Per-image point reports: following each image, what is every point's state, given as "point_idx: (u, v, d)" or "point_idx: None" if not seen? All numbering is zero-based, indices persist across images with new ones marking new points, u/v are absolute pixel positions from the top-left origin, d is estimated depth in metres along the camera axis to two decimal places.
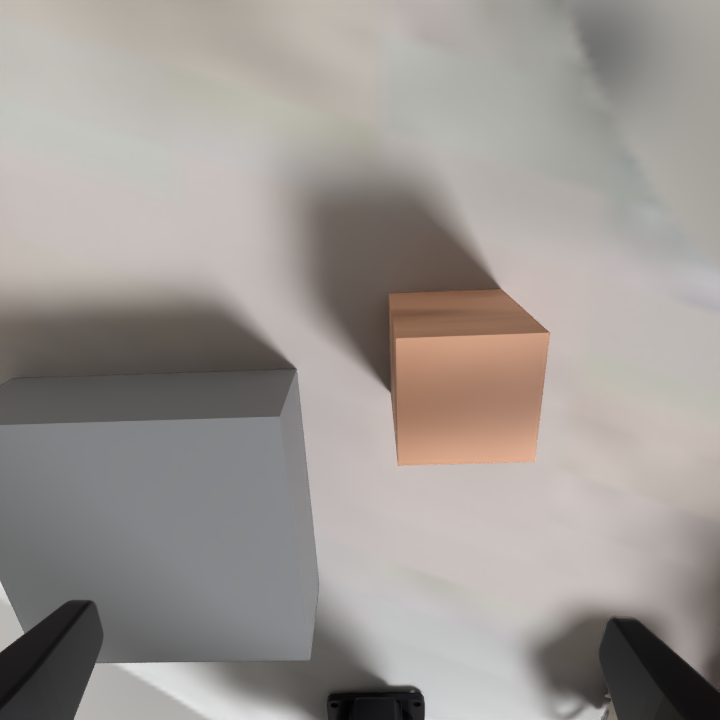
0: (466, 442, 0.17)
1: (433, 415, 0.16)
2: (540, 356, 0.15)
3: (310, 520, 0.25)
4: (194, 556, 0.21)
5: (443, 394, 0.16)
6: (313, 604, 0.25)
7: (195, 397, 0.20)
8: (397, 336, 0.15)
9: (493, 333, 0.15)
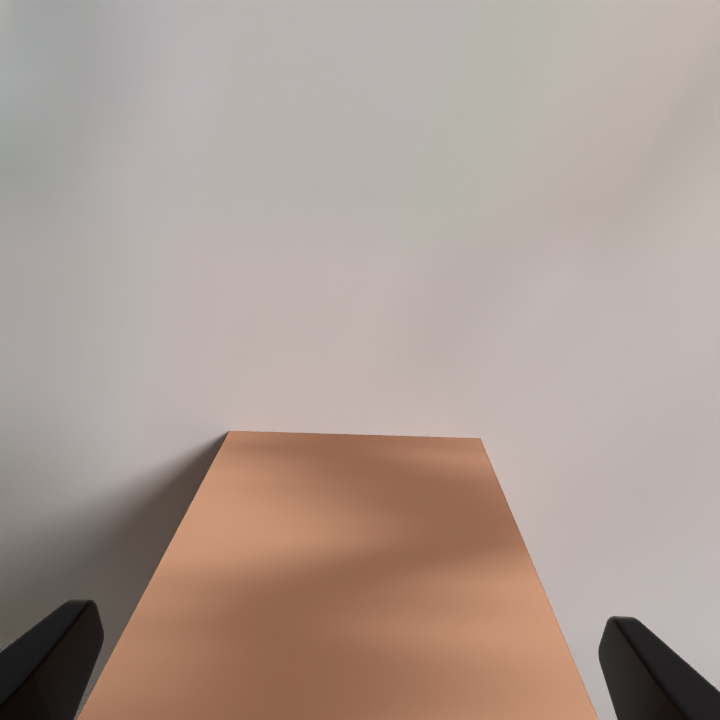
0: None
1: None
2: None
3: None
4: None
5: None
6: None
7: None
8: None
9: None
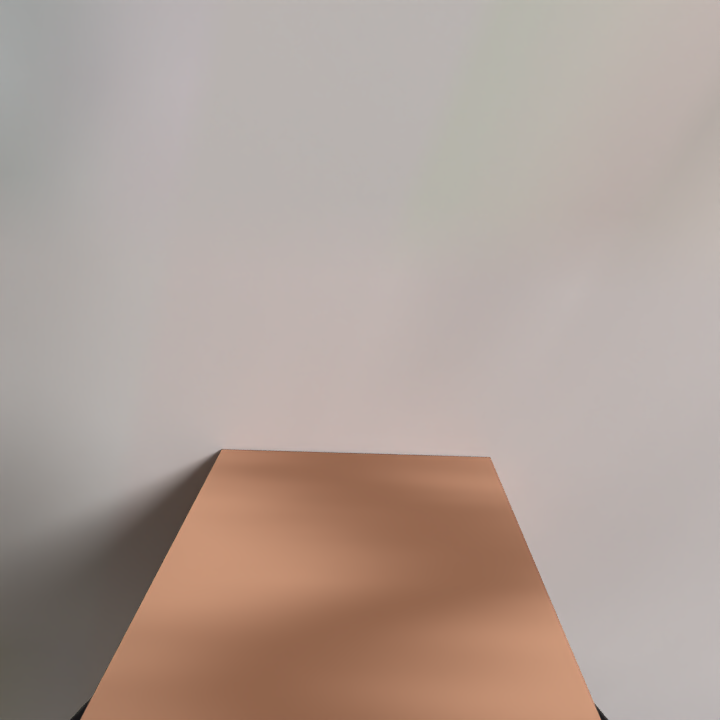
0: None
1: None
2: None
3: None
4: None
5: None
6: None
7: None
8: None
9: None
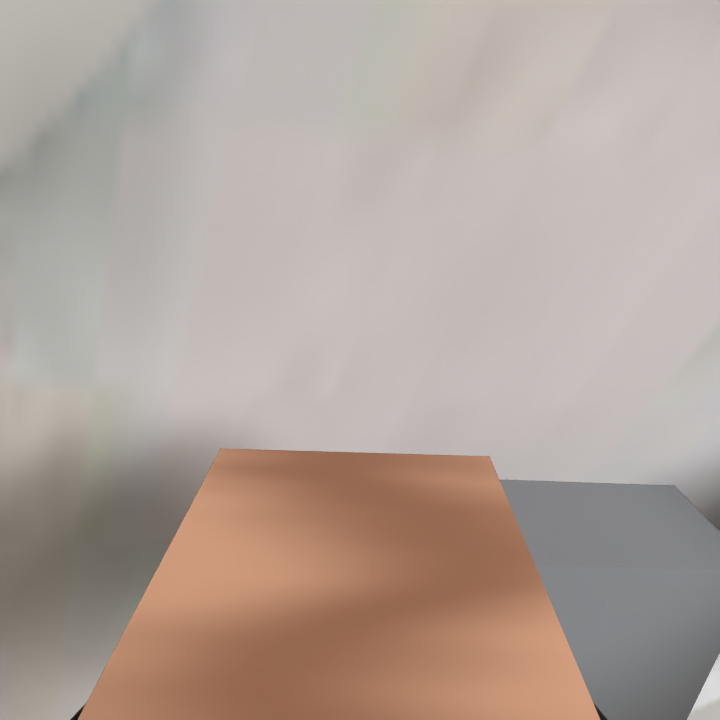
0: None
1: None
2: None
3: (557, 490, 0.19)
4: None
5: None
6: (683, 523, 0.18)
7: None
8: None
9: None
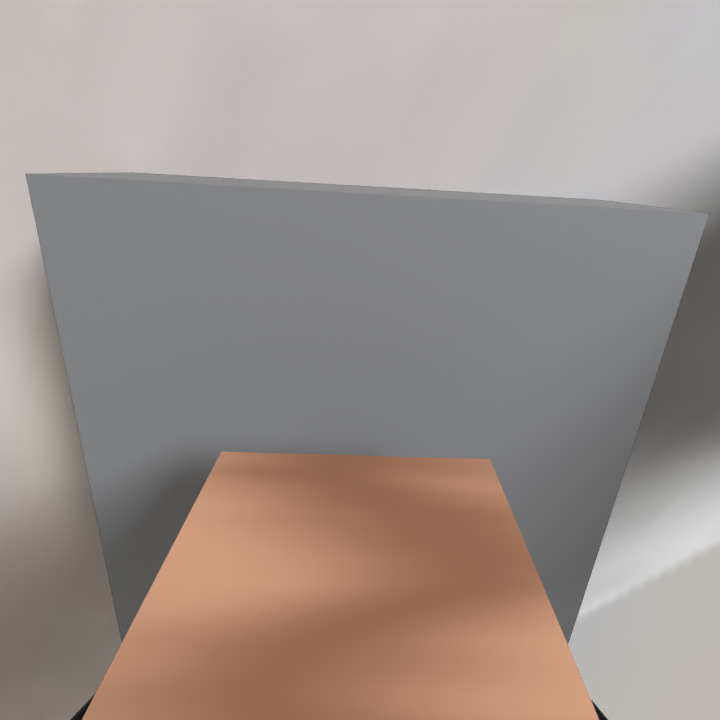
0: None
1: None
2: None
3: (427, 190, 0.13)
4: (357, 396, 0.11)
5: None
6: (601, 202, 0.12)
7: None
8: None
9: None
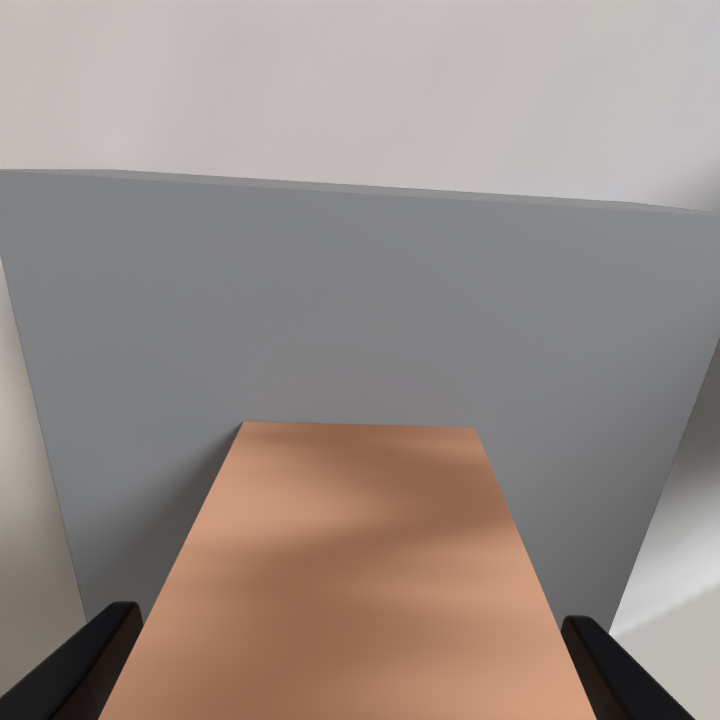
0: None
1: None
2: None
3: (437, 190, 0.12)
4: (360, 421, 0.10)
5: None
6: (633, 205, 0.10)
7: None
8: None
9: None
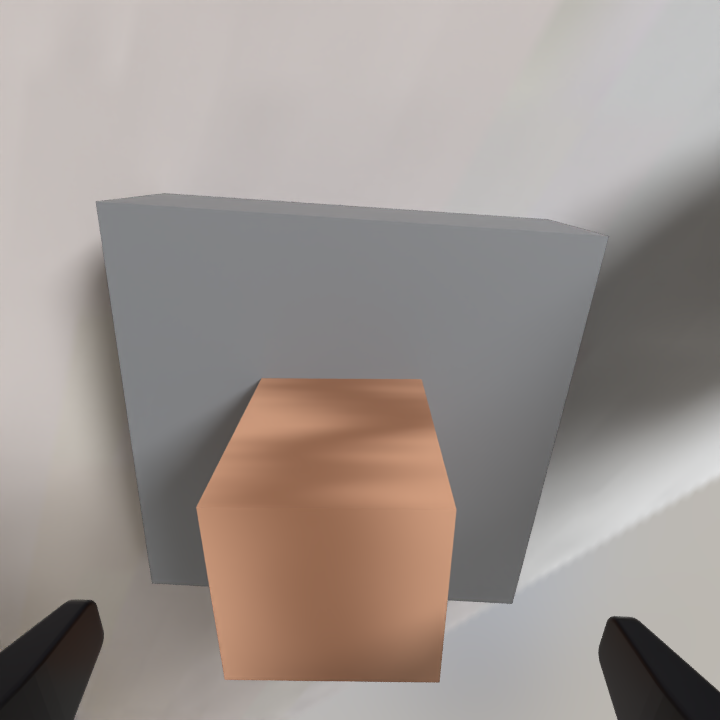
0: (403, 604, 0.10)
1: (349, 643, 0.10)
2: (240, 516, 0.09)
3: (403, 210, 0.16)
4: (345, 373, 0.14)
5: (314, 631, 0.10)
6: (538, 224, 0.15)
7: None
8: (226, 671, 0.11)
9: (209, 571, 0.10)
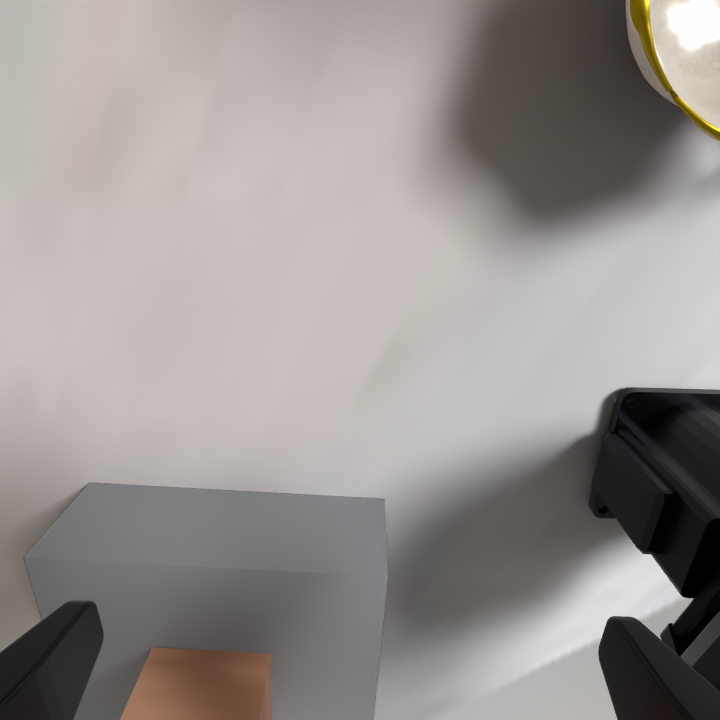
0: None
1: None
2: None
3: (270, 500, 0.21)
4: (214, 649, 0.19)
5: None
6: (359, 532, 0.20)
7: None
8: None
9: None
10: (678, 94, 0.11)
